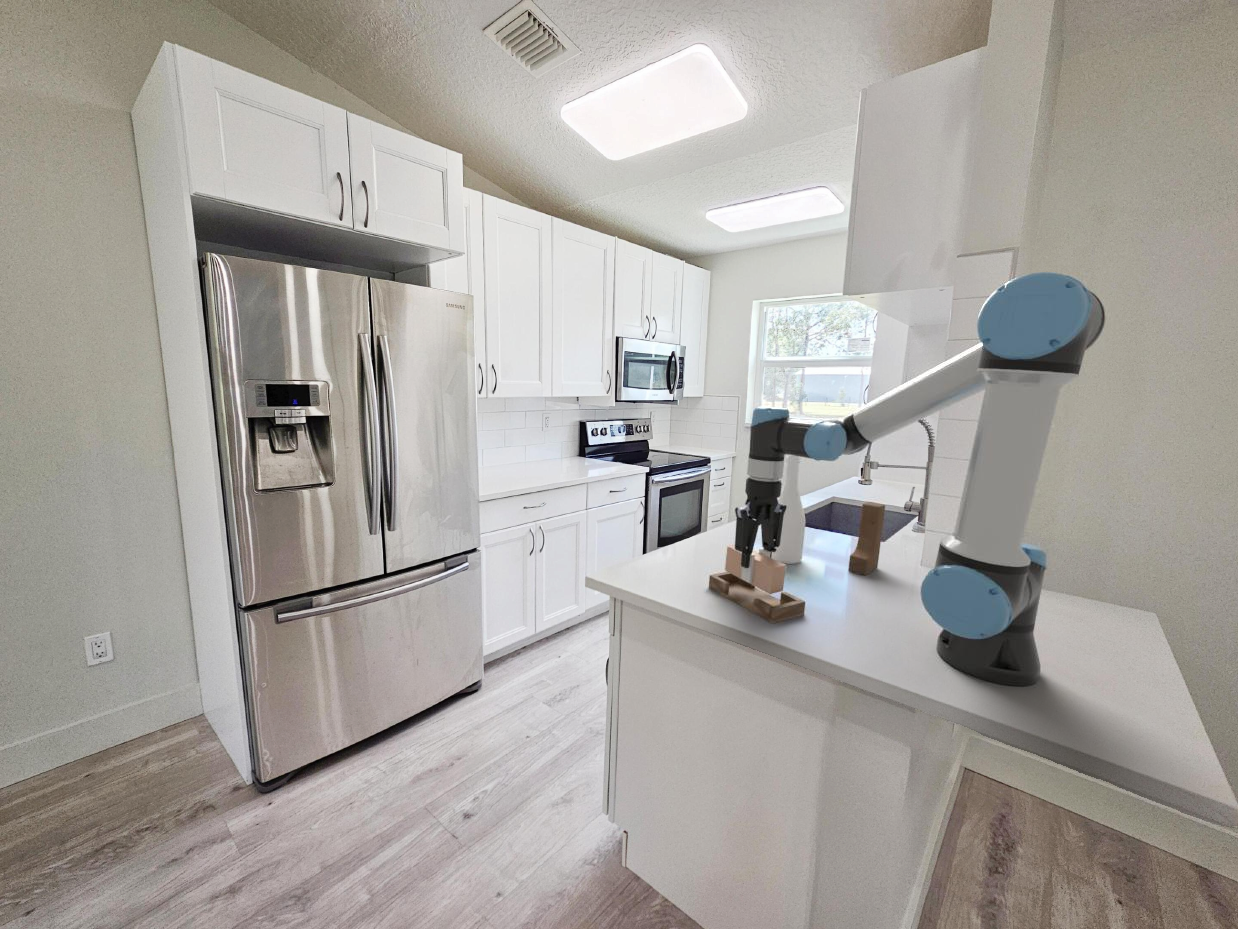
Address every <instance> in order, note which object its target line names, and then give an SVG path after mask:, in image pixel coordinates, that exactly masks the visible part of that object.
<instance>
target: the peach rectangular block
mask: <svg viewBox="0 0 1238 929" xmlns="http://www.w3.org/2000/svg"><path fill="white" fill-rule="evenodd" d="M752 554H754V555H755V558H754V569H753V579H752V583H750V584H752V585H753V586H755V588H757V589H759V590H761V591H763V592H765V593H767V594H769V595H772V594H776V593H781V592H784V584H785V576H786V569H787V564H783V563H781V562H778V561H776V560H774V559H772V558H770V557H767V556H765V555H763V554H761V553H759V551H757V550H754V549H753V551H752ZM741 557H742V553H741V552H740V551H738V550H735V544H733V545H728V546H727V547H726V556H725V566H724V572H729V573H731V574H733V575H735V576H736V577H738V578H740V579H741V575H742V566H741ZM742 580H743V579H742ZM744 581H745V580H744Z"/></svg>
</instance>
